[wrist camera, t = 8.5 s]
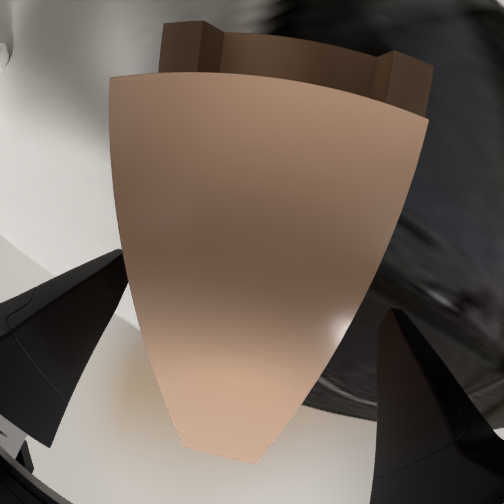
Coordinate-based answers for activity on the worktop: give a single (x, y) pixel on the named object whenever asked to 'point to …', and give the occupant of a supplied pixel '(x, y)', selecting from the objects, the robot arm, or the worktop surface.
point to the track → (297, 63)
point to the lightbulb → (3, 56)
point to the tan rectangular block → (250, 237)
